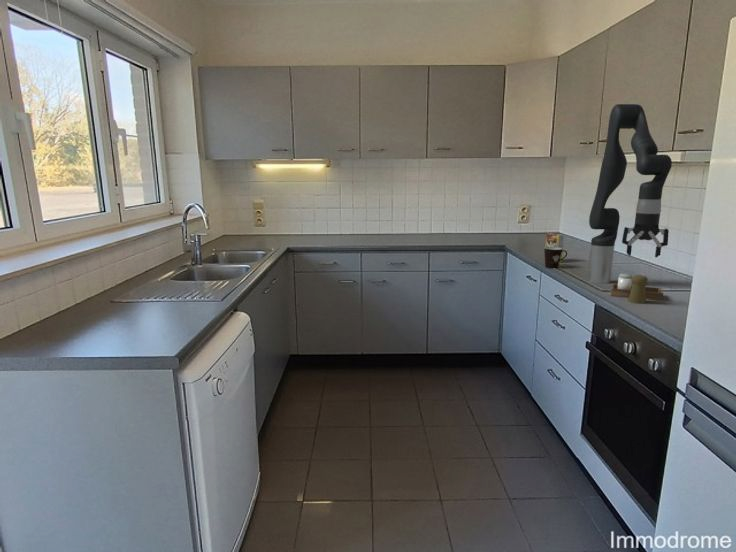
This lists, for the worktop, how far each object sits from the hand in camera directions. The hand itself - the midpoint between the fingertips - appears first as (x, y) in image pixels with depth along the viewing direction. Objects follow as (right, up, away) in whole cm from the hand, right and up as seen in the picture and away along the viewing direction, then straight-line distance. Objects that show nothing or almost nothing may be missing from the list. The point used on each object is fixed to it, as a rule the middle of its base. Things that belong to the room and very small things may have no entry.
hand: (642, 256), depth 168 cm
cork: (0, -18, +4) cm, 19 cm away
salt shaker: (0, -15, +13) cm, 20 cm away
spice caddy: (+4, -16, +12) cm, 20 cm away
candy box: (+2, +1, +86) cm, 86 cm away
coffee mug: (-4, -3, +71) cm, 71 cm away
